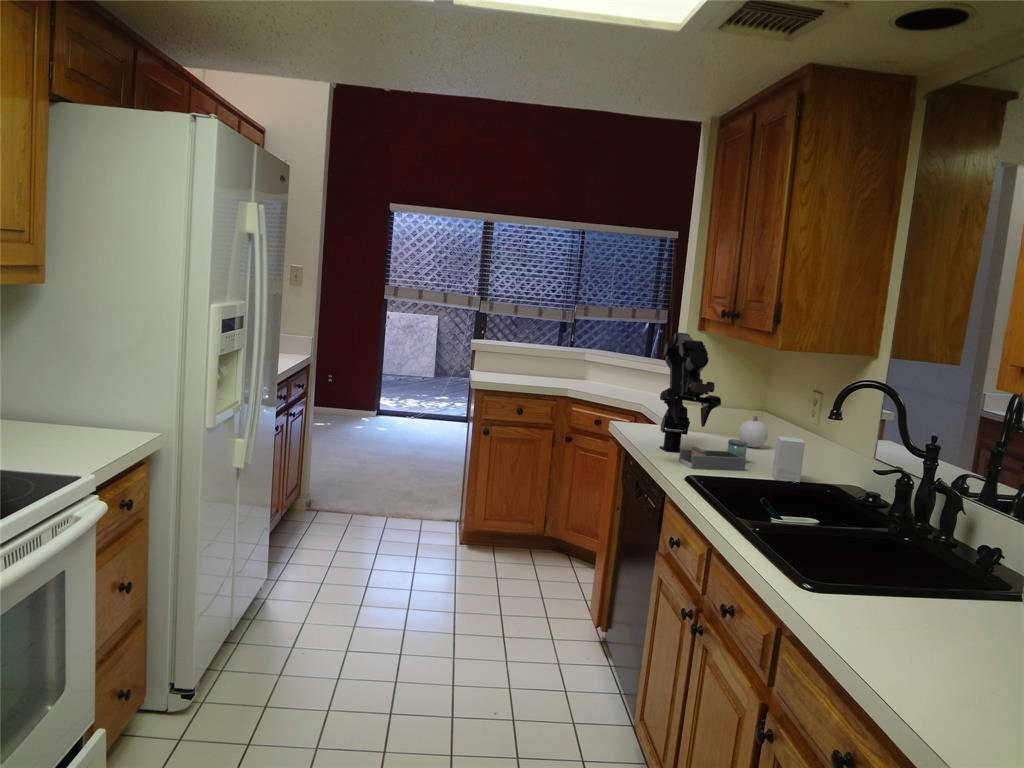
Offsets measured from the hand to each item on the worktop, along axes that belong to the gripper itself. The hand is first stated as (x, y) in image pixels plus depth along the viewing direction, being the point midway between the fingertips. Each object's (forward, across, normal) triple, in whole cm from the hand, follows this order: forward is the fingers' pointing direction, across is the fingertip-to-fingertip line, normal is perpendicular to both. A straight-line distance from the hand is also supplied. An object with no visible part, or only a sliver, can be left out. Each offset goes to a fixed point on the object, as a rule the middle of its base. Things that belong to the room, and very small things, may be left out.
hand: (689, 424), depth 240 cm
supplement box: (+15, +29, -7) cm, 33 cm away
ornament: (-5, +45, +37) cm, 58 cm away
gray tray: (+11, +11, +6) cm, 17 cm away
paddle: (+11, +6, +6) cm, 14 cm away
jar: (+6, +24, +13) cm, 28 cm away
